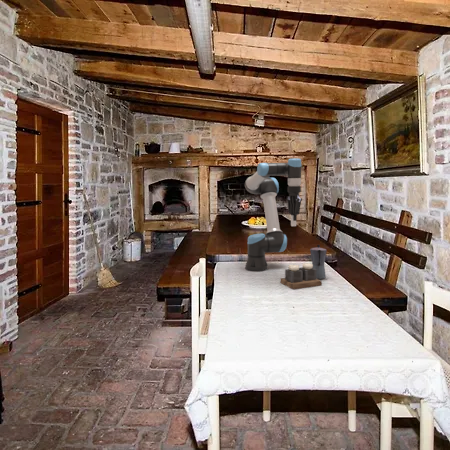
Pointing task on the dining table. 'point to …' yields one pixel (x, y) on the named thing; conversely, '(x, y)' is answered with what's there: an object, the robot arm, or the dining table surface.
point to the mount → (300, 278)
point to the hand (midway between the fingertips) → (293, 226)
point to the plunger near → (293, 267)
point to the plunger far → (307, 266)
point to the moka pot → (318, 261)
